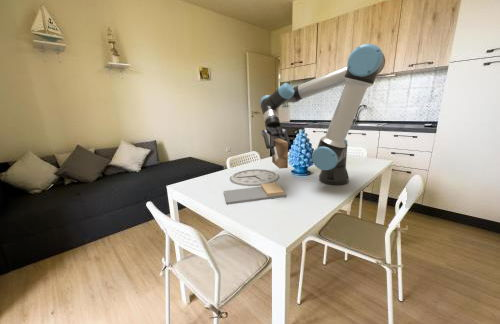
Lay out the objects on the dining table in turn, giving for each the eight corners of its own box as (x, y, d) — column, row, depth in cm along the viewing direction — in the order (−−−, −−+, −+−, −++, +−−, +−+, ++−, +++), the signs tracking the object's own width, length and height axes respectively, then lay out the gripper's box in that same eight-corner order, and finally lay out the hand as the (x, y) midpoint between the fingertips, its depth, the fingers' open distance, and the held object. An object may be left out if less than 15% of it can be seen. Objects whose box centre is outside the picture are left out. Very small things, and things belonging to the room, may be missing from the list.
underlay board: (277, 186, 115) (277, 181, 115) (286, 196, 102) (286, 191, 101) (224, 192, 110) (223, 188, 110) (226, 204, 97) (226, 199, 96)
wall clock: (286, 170, 137) (267, 186, 112) (286, 173, 138) (267, 189, 112) (244, 166, 151) (219, 180, 126) (244, 169, 152) (219, 182, 126)
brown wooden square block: (279, 161, 112) (279, 138, 109) (287, 167, 101) (287, 142, 98) (272, 162, 112) (271, 138, 109) (279, 168, 100) (279, 142, 97)
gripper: (285, 124, 118) (297, 162, 107) (254, 126, 115) (262, 165, 104) (289, 115, 111) (301, 153, 100) (256, 116, 109) (265, 156, 97)
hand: (281, 159), depth 102 cm, fingers closed on brown wooden square block, 4 cm apart
